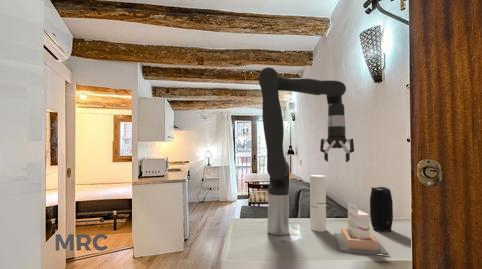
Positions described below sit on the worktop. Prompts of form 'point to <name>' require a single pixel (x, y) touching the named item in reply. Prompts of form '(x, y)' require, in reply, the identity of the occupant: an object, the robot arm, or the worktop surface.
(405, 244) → the worktop surface
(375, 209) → the portable speaker
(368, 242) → the dock
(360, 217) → the ink cartridge box
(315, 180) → the cylindrical container
